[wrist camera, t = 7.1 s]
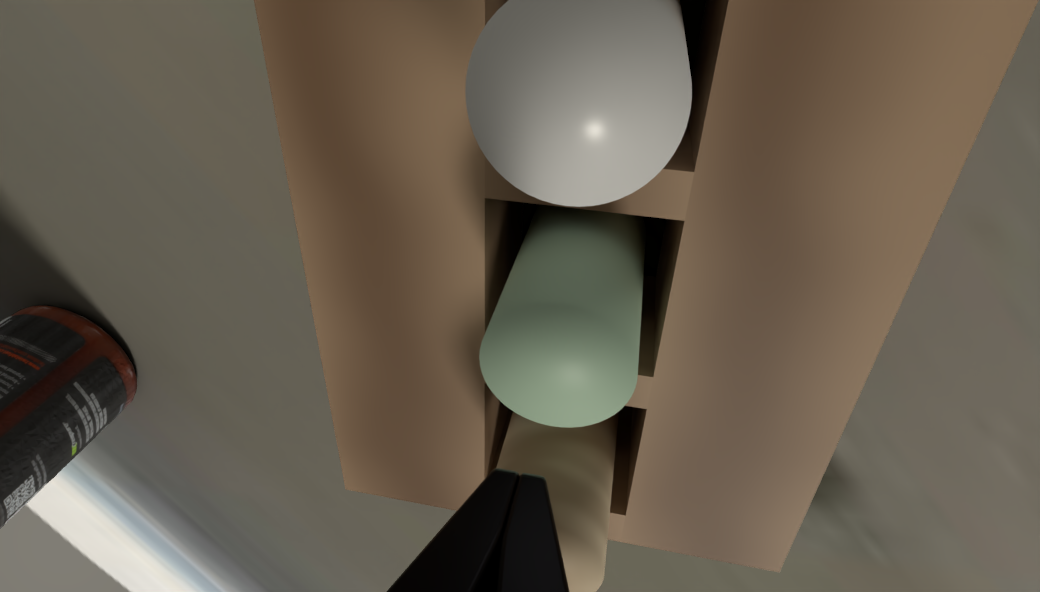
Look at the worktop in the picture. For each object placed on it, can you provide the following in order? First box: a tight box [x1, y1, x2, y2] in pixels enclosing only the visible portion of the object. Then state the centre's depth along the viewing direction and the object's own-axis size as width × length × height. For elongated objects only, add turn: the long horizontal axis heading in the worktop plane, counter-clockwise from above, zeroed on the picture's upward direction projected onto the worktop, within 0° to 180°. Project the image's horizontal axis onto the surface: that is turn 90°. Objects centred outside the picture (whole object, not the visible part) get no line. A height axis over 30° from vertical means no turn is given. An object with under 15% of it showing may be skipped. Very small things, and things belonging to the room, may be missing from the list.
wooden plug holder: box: [254, 0, 1038, 572], centre depth 17 cm, size 14×18×5 cm
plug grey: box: [465, 0, 692, 207], centre depth 11 cm, size 3×3×6 cm
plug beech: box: [496, 411, 619, 592], centre depth 17 cm, size 3×3×6 cm
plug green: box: [479, 204, 646, 428], centre depth 15 cm, size 3×3×6 cm
